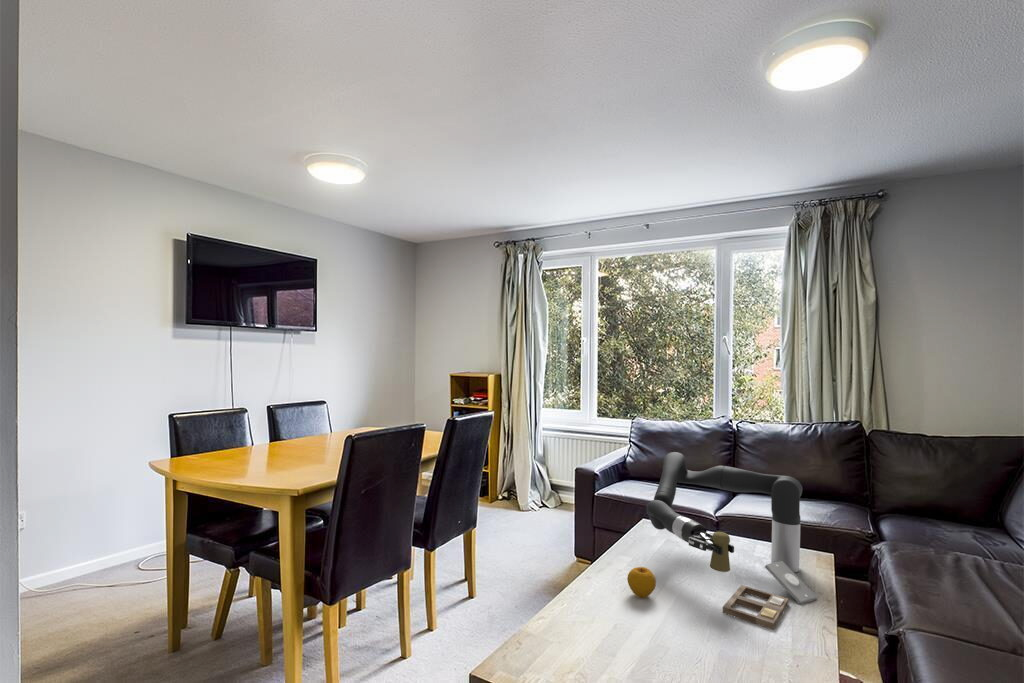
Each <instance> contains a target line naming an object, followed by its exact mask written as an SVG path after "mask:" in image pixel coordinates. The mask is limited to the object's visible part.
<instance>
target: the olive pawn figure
mask: <svg viewBox="0 0 1024 683" xmlns="http://www.w3.org/2000/svg"><path fill="white" fill-rule="evenodd" d="M712 534H713V536H712V539H713V542H714V544H716V545H718V546H720V547H722V548H723V554H722V555H719V554H717V553H715V552H714V551H711V558H710V561H709V562H710V564H709V567H710V568H711V570H714V571H717V572H719V573H721V572H722V573H727V572H730V571H731V566H730V554H729V553H730V552H729V551H728V544H731V543H730V542H731V538H730V536H729V534H728V533H726V532H723V531H714V532H713V533H712Z"/></svg>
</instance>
